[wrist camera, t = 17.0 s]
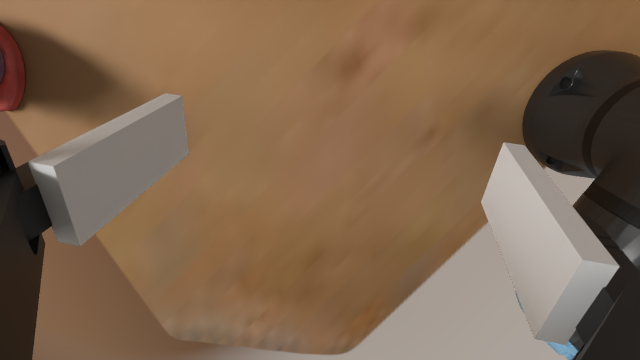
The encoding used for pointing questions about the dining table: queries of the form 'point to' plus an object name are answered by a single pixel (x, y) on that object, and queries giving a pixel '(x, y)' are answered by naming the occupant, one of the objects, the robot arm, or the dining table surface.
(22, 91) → the stacking bear
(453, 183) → the dining table surface
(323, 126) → the dining table surface
